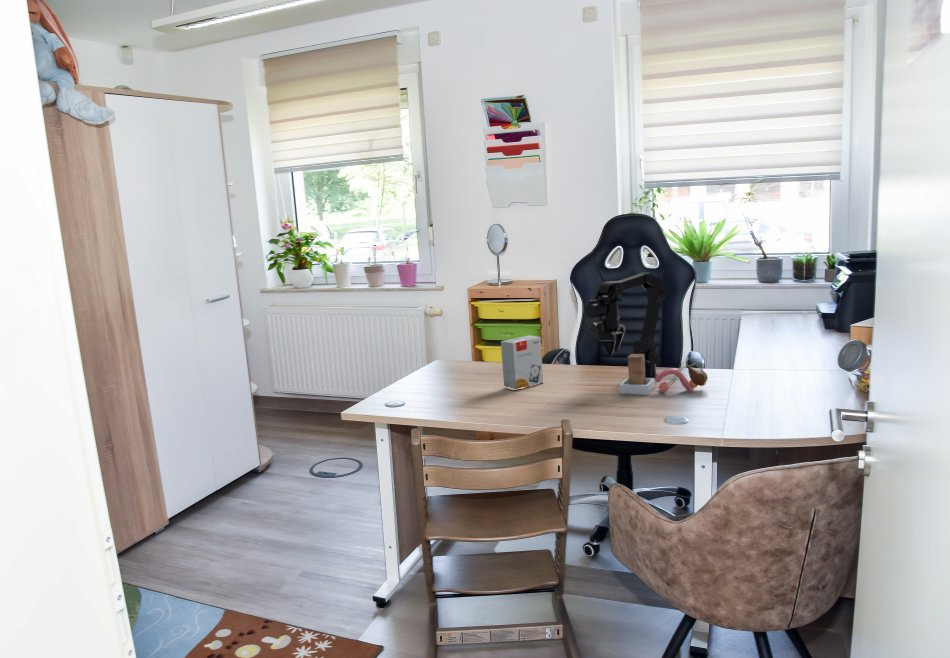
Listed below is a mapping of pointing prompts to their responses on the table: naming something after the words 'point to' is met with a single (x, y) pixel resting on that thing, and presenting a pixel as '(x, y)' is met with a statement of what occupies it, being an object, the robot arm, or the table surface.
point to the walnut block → (636, 369)
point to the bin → (637, 387)
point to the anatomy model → (683, 377)
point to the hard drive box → (522, 361)
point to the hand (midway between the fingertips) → (613, 354)
